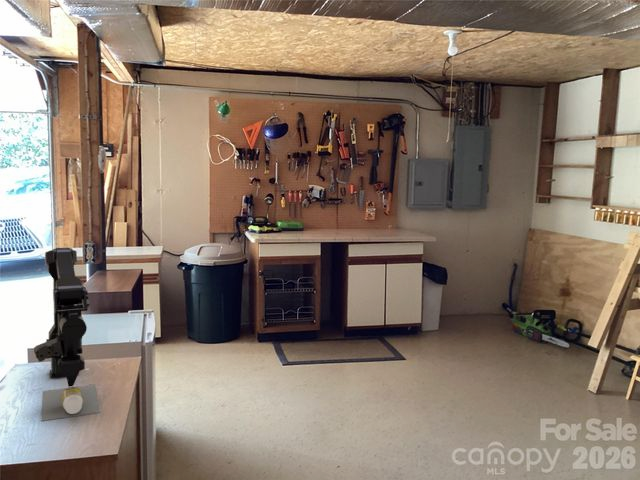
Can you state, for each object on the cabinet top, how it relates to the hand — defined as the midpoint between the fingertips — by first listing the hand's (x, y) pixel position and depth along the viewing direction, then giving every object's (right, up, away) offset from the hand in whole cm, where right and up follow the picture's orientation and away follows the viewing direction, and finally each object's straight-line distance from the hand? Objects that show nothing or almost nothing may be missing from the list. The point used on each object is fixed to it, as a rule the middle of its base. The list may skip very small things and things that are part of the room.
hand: (70, 385), depth 141 cm
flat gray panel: (-2, -6, +4) cm, 7 cm away
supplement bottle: (-1, -3, +3) cm, 5 cm away
